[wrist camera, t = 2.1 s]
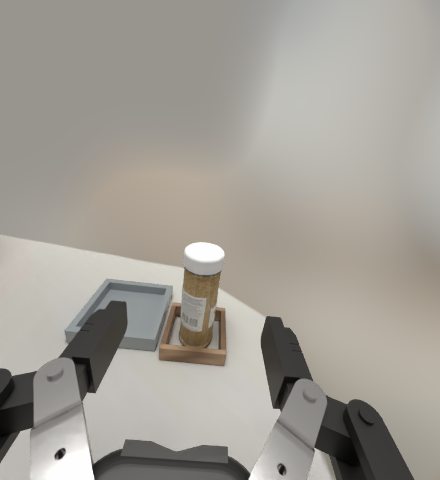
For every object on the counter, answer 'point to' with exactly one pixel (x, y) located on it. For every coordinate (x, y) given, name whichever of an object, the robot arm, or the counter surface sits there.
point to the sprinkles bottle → (200, 293)
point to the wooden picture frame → (193, 353)
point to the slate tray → (130, 311)
